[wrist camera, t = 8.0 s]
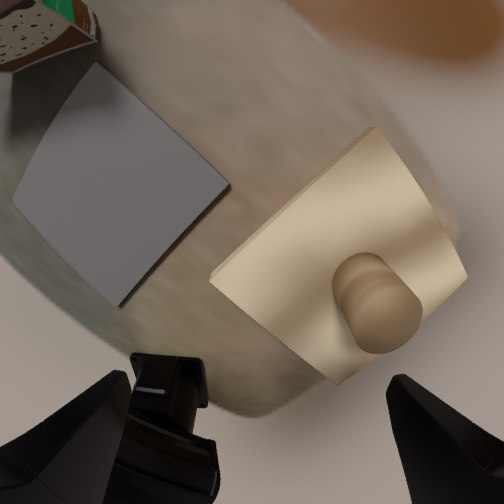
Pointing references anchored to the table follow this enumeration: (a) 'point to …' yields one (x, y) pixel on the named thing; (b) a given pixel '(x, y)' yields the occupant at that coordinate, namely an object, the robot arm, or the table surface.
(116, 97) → the mat
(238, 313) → the table surface
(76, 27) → the food container
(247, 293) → the lid
